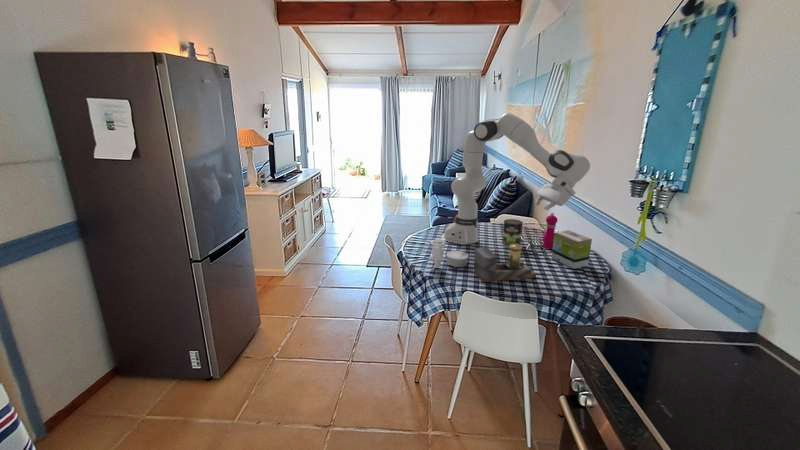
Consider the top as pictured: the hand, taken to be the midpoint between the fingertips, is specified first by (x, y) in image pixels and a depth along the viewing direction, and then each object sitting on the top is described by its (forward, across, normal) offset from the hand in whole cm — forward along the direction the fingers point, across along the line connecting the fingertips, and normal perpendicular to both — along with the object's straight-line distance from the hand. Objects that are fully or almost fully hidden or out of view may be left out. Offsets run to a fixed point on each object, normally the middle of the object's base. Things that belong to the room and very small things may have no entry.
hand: (540, 207), depth 178 cm
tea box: (+9, -1, +35) cm, 36 cm away
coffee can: (+21, -29, +21) cm, 42 cm away
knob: (+31, +9, +8) cm, 33 cm away
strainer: (+56, -4, -15) cm, 58 cm away
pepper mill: (+8, -23, +35) cm, 43 cm away
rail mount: (+35, +9, +6) cm, 37 cm away
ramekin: (+48, -7, -7) cm, 49 cm away
